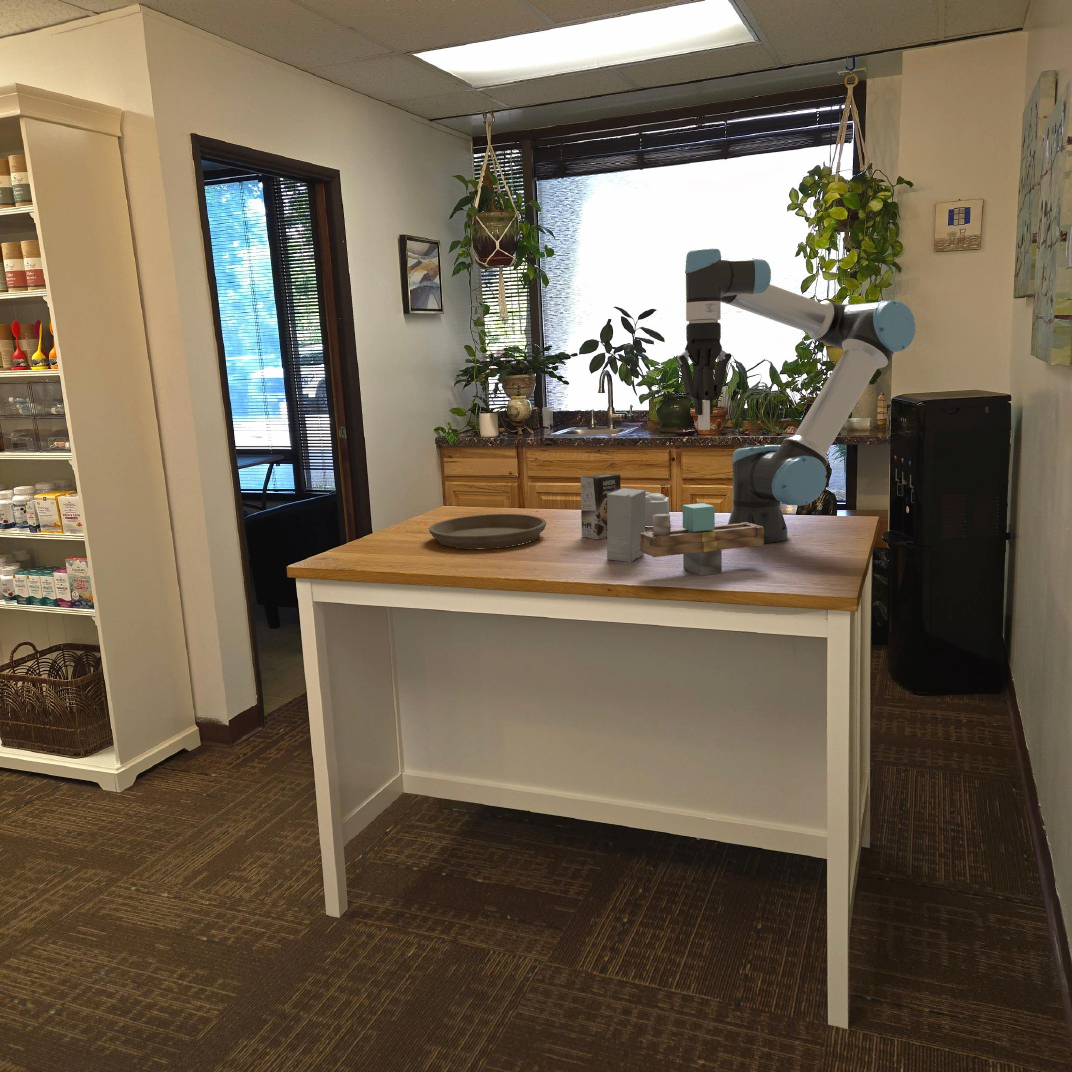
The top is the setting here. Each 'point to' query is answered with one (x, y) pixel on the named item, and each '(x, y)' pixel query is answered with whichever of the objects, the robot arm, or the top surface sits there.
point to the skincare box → (625, 524)
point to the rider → (698, 517)
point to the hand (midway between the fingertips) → (704, 429)
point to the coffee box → (596, 503)
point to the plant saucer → (488, 530)
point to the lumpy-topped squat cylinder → (655, 506)
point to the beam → (699, 543)
